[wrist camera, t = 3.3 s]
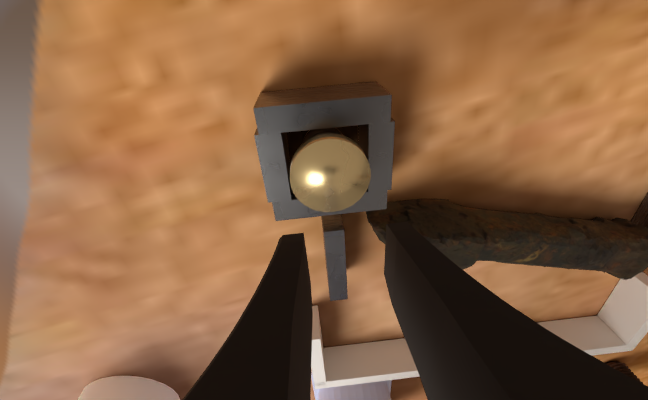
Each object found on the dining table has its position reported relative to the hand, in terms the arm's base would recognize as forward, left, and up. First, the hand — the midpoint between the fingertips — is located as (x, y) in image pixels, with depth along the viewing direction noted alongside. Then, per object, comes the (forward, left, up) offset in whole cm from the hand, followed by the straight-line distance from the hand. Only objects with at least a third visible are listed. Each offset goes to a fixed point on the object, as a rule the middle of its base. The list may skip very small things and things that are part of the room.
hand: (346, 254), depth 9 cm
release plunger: (0, 0, -9) cm, 9 cm away
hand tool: (-8, -12, -10) cm, 17 cm away
